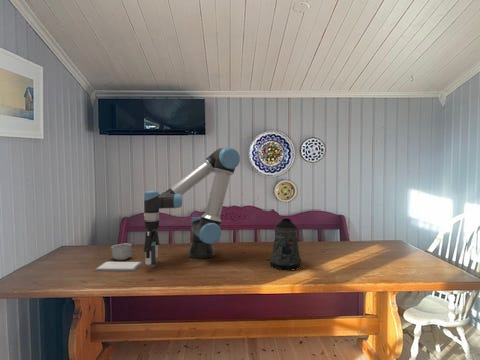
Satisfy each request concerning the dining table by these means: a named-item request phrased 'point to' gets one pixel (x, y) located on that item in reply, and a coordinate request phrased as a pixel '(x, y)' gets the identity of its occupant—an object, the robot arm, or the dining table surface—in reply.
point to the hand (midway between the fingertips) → (152, 260)
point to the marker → (153, 255)
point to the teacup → (121, 251)
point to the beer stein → (285, 247)
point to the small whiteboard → (118, 266)
